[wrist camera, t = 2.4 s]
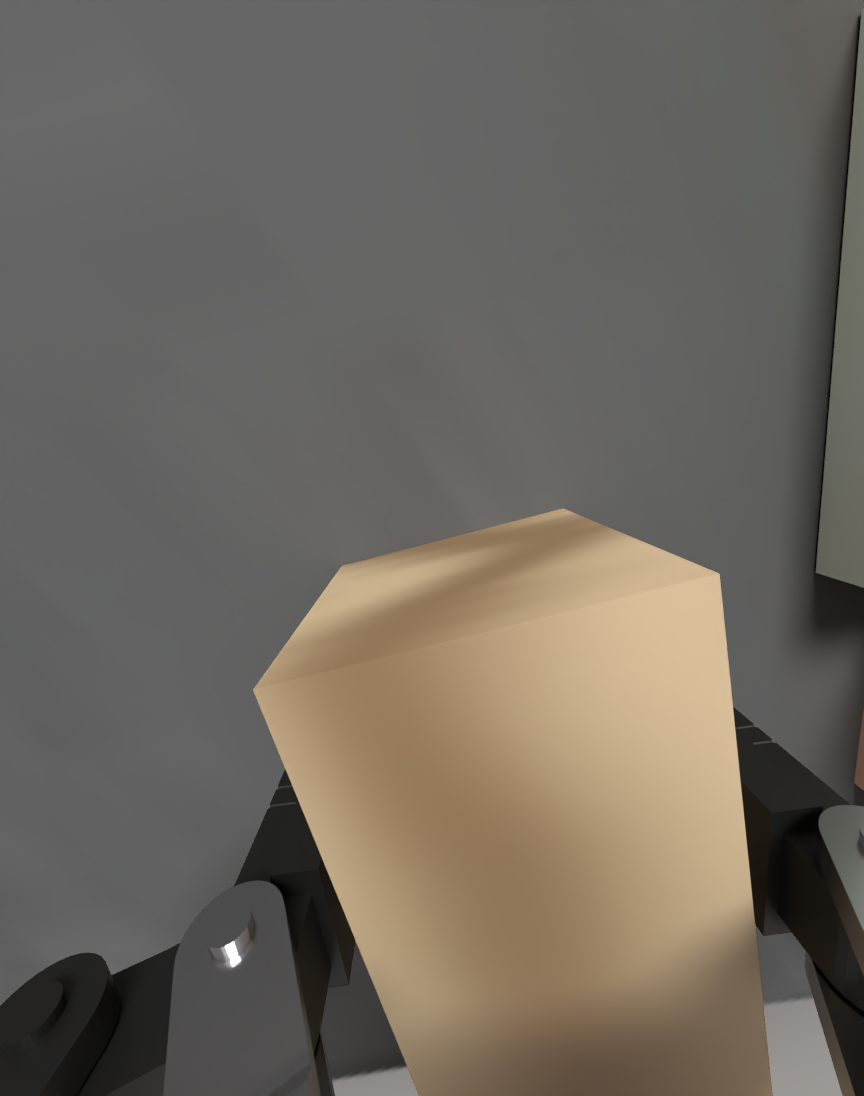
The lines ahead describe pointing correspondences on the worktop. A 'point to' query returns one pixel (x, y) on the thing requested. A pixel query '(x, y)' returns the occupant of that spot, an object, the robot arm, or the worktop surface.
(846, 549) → the pad
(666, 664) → the tan rectangular block
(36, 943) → the worktop surface
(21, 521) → the worktop surface
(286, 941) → the robot arm
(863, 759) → the cube
